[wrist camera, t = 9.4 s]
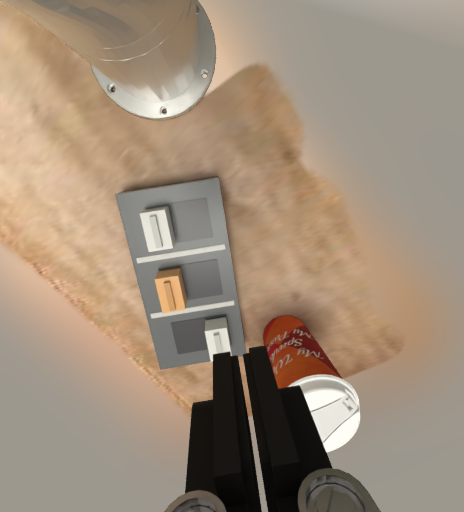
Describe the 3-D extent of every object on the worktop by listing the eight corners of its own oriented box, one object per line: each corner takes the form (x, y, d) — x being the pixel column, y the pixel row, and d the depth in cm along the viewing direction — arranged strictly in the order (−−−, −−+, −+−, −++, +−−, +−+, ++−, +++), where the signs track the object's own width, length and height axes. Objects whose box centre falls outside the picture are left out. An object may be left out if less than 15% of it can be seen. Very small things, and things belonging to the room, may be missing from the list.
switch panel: (122, 191, 36) (115, 194, 33) (218, 176, 36) (218, 178, 33) (163, 355, 43) (160, 370, 40) (244, 342, 43) (246, 355, 40)
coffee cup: (292, 295, 41) (335, 368, 27) (326, 338, 43) (382, 426, 29) (241, 332, 42) (256, 420, 28) (276, 372, 44) (307, 472, 30)
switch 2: (158, 271, 35) (153, 281, 33) (180, 267, 36) (177, 277, 33) (165, 303, 37) (161, 315, 34) (187, 299, 37) (184, 312, 34)
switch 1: (144, 209, 33) (138, 214, 30) (168, 206, 33) (163, 210, 30) (153, 245, 35) (147, 253, 32) (175, 242, 35) (172, 249, 32)
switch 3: (205, 320, 38) (204, 334, 35) (225, 317, 38) (227, 330, 35) (210, 349, 39) (210, 364, 36) (230, 345, 39) (232, 361, 36)
